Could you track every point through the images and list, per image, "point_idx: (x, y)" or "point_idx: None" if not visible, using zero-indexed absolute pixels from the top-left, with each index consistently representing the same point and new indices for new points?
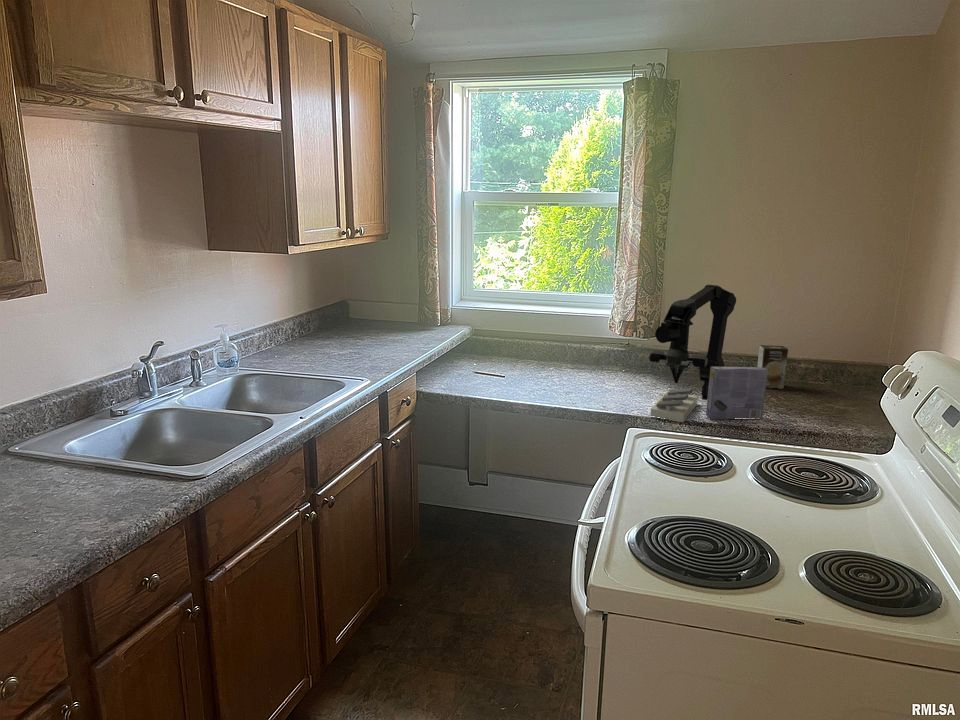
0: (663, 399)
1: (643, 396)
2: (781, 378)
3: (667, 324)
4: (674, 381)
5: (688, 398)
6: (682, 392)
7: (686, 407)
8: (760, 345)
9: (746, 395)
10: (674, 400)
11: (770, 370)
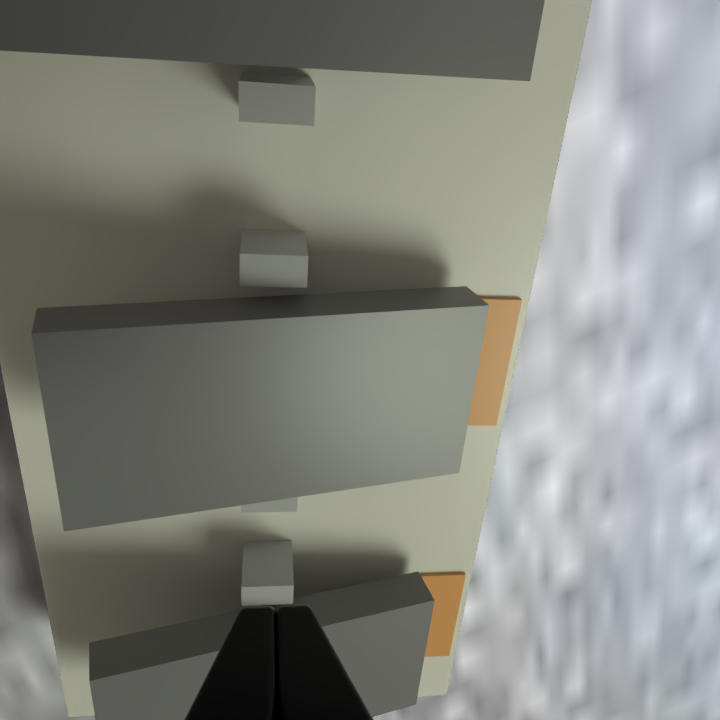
0: (458, 298)
1: (653, 608)
2: None
3: None
4: (326, 635)
5: (140, 598)
6: (215, 639)
7: (2, 157)
8: None
9: None
10: (253, 259)
11: None
